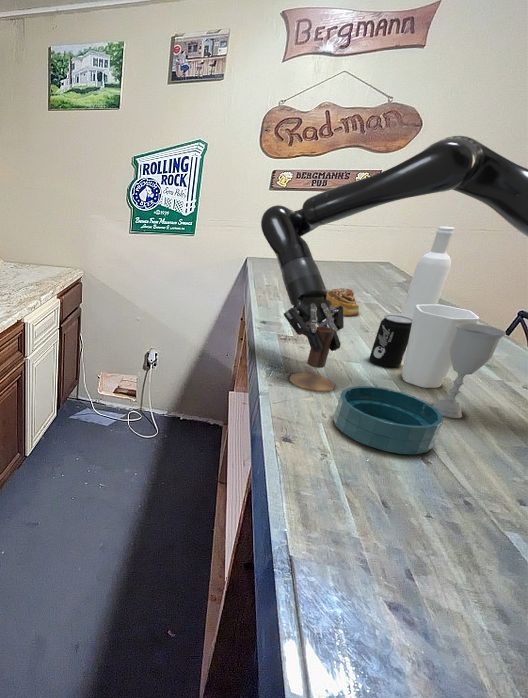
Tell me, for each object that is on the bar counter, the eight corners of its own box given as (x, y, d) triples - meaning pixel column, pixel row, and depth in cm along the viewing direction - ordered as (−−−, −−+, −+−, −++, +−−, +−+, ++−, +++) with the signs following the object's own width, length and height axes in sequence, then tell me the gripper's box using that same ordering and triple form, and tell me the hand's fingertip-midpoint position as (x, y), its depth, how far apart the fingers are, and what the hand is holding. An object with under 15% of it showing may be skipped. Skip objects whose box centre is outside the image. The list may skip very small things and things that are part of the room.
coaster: (329, 378, 108) (330, 376, 108) (337, 394, 100) (337, 392, 100) (287, 372, 111) (288, 370, 110) (292, 388, 103) (292, 386, 103)
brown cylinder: (323, 362, 104) (332, 327, 101) (326, 368, 101) (336, 333, 98) (305, 360, 106) (314, 325, 102) (308, 366, 102) (317, 331, 99)
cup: (389, 368, 113) (412, 301, 106) (440, 376, 109) (467, 307, 102) (398, 386, 104) (423, 315, 97) (454, 396, 100) (485, 322, 93)
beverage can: (400, 371, 111) (416, 324, 107) (368, 364, 115) (382, 319, 110) (399, 361, 116) (414, 317, 112) (368, 356, 120) (382, 312, 115)
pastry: (361, 318, 148) (368, 294, 145) (310, 313, 153) (315, 290, 150) (352, 307, 160) (359, 284, 156) (305, 302, 164) (310, 280, 161)
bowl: (414, 420, 90) (424, 393, 88) (445, 465, 77) (458, 434, 75) (326, 406, 95) (333, 380, 93) (341, 446, 82) (350, 417, 79)
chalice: (430, 416, 92) (463, 332, 84) (419, 401, 98) (449, 321, 90) (475, 423, 89) (514, 337, 82) (461, 407, 95) (496, 326, 88)
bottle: (396, 328, 140) (430, 227, 128) (396, 321, 146) (428, 224, 134) (429, 333, 136) (467, 229, 123) (427, 326, 141) (463, 226, 129)
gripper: (285, 274, 101) (309, 345, 95) (341, 272, 103) (368, 341, 97) (266, 291, 108) (287, 358, 102) (319, 288, 110) (343, 354, 104)
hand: (327, 349), depth 100 cm, fingers closed on brown cylinder, 3 cm apart
